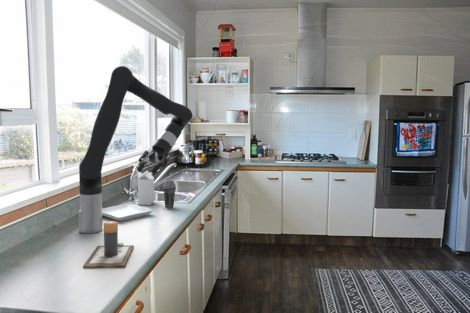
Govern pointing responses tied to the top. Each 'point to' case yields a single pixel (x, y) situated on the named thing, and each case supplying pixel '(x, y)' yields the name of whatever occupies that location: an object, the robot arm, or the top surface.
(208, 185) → the top surface
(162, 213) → the top surface
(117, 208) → the salad plate
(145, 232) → the top surface
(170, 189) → the beverage cup
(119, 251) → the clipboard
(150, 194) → the milk carton
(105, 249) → the orange-capped grey cylinder
